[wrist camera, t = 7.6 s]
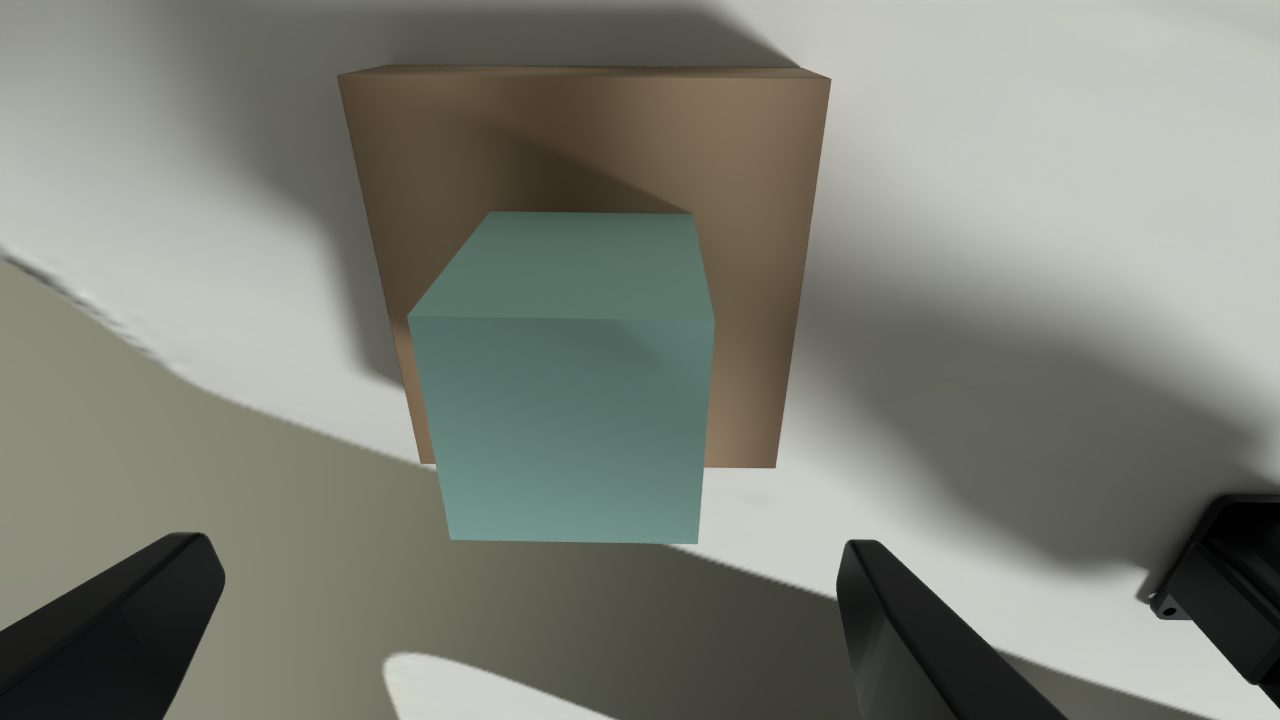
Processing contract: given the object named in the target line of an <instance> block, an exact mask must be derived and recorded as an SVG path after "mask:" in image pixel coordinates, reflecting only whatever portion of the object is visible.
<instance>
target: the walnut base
mask: <svg viewBox="0 0 1280 720" xmlns="http://www.w3.org/2000/svg"><path fill="white" fill-rule="evenodd" d="M337 77H338V82H339V86H340V91H341V96H342V100H343V105H344V110H345V114H346V119H347V124H348V128H349V133H350V137H351V142H352V147H353V151H354V156H355V161H356V165H357V170H358V175H359V179H360V184H361V188H362V193H363V198H364V202H365V207H366V212H367V216H368V221H369V226H370V230H371V235H372V239H373V244H374V249H375V253H376V258H377V263H378V267H379V272H380V277H381V281H382V286H383V291H384V295H385V300H386V304H387V309H388V314H389V318H390V323H391V328H392V332H393V337H394V342H395V346H396V351H397V355H398V360H399V365H400V369H401V374H402V379H403V383H404V388H405V393H406V397H407V402H408V407H409V411H410V416H411V420H412V425H413V430H414V434H415V439H416V444H417V448H418V453H419V458H420V462H421V464H436V463H435V457H434V452H433V447H432V442H431V437H430V432H429V426H428V421H427V416H426V411H425V406H424V401H423V396H422V390H421V385H420V380H419V375H418V370H417V365H416V360H415V354H414V349H413V344H412V339H411V334H410V329H409V324H408V318H407V315H408V314H409V313H410V312H411V310H412V309H413V308H414V307H415V305H416V304H417V303H418V302H419V300H420V299H421V298H422V297H423V295H424V294H425V293H426V292H427V290H428V289H429V288H430V286H431V285H432V284H433V283H434V281H435V280H436V279H437V278H438V276H439V275H440V274H441V273H442V271H443V270H444V269H445V268H446V266H447V265H448V264H449V263H450V261H451V260H452V259H453V257H454V256H455V255H456V254H457V252H458V251H459V250H460V249H461V247H462V246H463V245H464V244H465V242H466V241H467V240H468V239H469V237H470V236H471V235H472V234H473V232H474V231H475V230H476V228H477V227H478V226H479V225H480V223H481V222H482V221H483V220H484V218H485V217H486V216H487V215H488V213H489V212H490V211H507V212H579V213H650V214H693V218H694V222H695V227H696V232H697V237H698V242H699V246H700V251H701V256H702V261H703V266H704V270H705V275H706V280H707V285H708V290H709V295H710V299H711V304H712V309H713V314H714V319H715V327H714V339H713V352H712V365H711V378H710V391H709V404H708V417H707V430H706V443H705V456H704V467H712V468H775V467H776V460H777V453H778V446H779V439H780V432H781V426H782V419H783V412H784V405H785V398H786V391H787V384H788V377H789V370H790V363H791V356H792V349H793V342H794V335H795V328H796V322H797V315H798V308H799V301H800V294H801V287H802V280H803V273H804V266H805V259H806V252H807V245H808V238H809V231H810V224H811V218H812V211H813V204H814V197H815V190H816V183H817V176H818V169H819V162H820V155H821V148H822V141H823V134H824V127H825V120H826V114H827V107H828V100H829V93H830V86H831V79H830V78H827V77H825V76H822V75H819V74H817V73H814V72H812V71H809V70H806V69H804V68H736V67H588V66H441V65H385V66H380V67H376V68H371V69H366V70H362V71H357V72H352V73H347V74H343V75H338V76H337Z"/></svg>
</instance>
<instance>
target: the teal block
mask: <svg viewBox="0 0 1280 720" xmlns="http://www.w3.org/2000/svg"><path fill="white" fill-rule="evenodd" d="M407 318H408V324H409V329H410V334H411V339H412V344H413V349H414V354H415V360H416V365H417V370H418V375H419V380H420V385H421V390H422V396H423V401H424V406H425V411H426V416H427V421H428V426H429V432H430V437H431V442H432V447H433V452H434V457H435V463H436V468H437V473H438V478H439V482H440V487H441V493H442V499H443V504H444V509H445V514H446V519H447V524H448V529H449V535H450V539H451V540H500V541H502V540H504V541H556V542H611V543H613V542H614V543H666V544H698V533H699V520H700V507H701V495H702V482H703V469H704V456H705V443H706V430H707V417H708V404H709V391H710V378H711V365H712V352H713V339H714V327H715V319H714V314H713V309H712V304H711V299H710V295H709V290H708V285H707V280H706V275H705V270H704V266H703V261H702V256H701V251H700V246H699V242H698V237H697V232H696V227H695V222H694V218H693V214H650V213H579V212H507V211H490V212H489V213H488V215H487V216H486V217H485V218H484V220H483V221H482V222H481V223H480V225H479V226H478V227H477V228H476V230H475V231H474V232H473V234H472V235H471V236H470V237H469V239H468V240H467V241H466V242H465V244H464V245H463V246H462V247H461V249H460V250H459V251H458V252H457V254H456V255H455V256H454V257H453V259H452V260H451V261H450V263H449V264H448V265H447V266H446V268H445V269H444V270H443V271H442V273H441V274H440V275H439V276H438V278H437V279H436V280H435V281H434V283H433V284H432V285H431V286H430V288H429V289H428V290H427V292H426V293H425V294H424V295H423V297H422V298H421V299H420V300H419V302H418V303H417V304H416V305H415V307H414V308H413V309H412V310H411V312H410V313H409V314H408V315H407Z"/></svg>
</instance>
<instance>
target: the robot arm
mask: <svg viewBox="0 0 1280 720" xmlns="http://www.w3.org/2000/svg"><path fill="white" fill-rule="evenodd" d="M224 585H225V572H224V569H223V567H222V565H221V563H220V560H219V558H218V556H217V554H216V552H215V550H214V547H213V545H212V543H211V541H210V539H209V538H208V536H206V535H205V534H204V533H200V532H175V533H170V534H168V535H166V536H164V537H162V538H160V539H159V540H157V541H155V542H154V543H152V544H150V545H149V546H147V547H145V548H143V549H142V550H140V551H138V552H136V553H135V554H133V555H131V556H130V557H128V558H126V559H124V560H123V561H121V562H119V563H117V564H116V565H114V566H112V567H111V568H109V569H107V570H105V571H104V572H102V573H100V574H98V575H97V576H95V577H93V578H91V579H90V580H88V581H86V582H85V583H83V584H81V585H80V586H78V587H76V588H74V589H73V590H71V591H69V592H67V593H66V594H64V595H62V596H60V597H59V598H57V599H55V600H54V601H52V602H50V603H48V604H47V605H45V606H43V607H42V608H40V609H38V610H36V611H35V612H33V613H31V614H29V615H28V616H26V617H24V618H22V619H21V620H19V621H17V622H16V623H14V624H12V625H11V626H9V627H7V628H5V629H4V630H2V631H0V720H163V718H164V716H165V715H166V713H167V711H168V709H169V707H170V705H171V703H172V701H173V700H174V698H175V696H176V693H177V691H178V689H179V687H180V685H181V683H182V681H183V679H184V677H185V675H186V672H187V670H188V668H189V666H190V663H191V661H192V659H193V657H194V654H195V652H196V650H197V647H198V645H199V643H200V641H201V639H202V636H203V634H204V632H205V630H206V628H207V625H208V623H209V621H210V619H211V616H212V614H213V612H214V610H215V607H216V605H217V603H218V601H219V598H220V596H221V594H222V592H223V589H224ZM836 591H837V599H838V604H839V609H840V614H841V619H842V624H843V629H844V634H845V639H846V645H847V650H848V655H849V660H850V665H851V670H852V675H853V680H854V686H855V690H856V695H857V700H858V704H859V708H860V712H861V715H862V719H863V720H1069V719H1068V718H1067V717H1066V716H1065V715H1064V714H1063V713H1062V712H1061V711H1060V710H1059V709H1057V708H1056V707H1055V706H1054V705H1053V704H1052V703H1051V702H1050V701H1049V700H1048V699H1047V698H1046V697H1045V696H1044V695H1043V694H1041V693H1040V692H1039V691H1038V690H1037V689H1036V688H1035V687H1034V686H1033V685H1032V684H1031V683H1030V682H1029V681H1028V680H1027V679H1026V678H1024V677H1023V676H1022V675H1021V674H1020V673H1019V672H1018V671H1017V670H1016V669H1015V668H1014V667H1013V666H1012V665H1011V664H1009V663H1008V662H1007V661H1006V660H1005V659H1004V658H1003V657H1002V656H1001V655H1000V654H999V653H998V652H997V651H996V650H995V649H994V648H992V647H991V646H990V645H989V644H988V643H987V642H986V641H985V640H984V639H983V638H982V637H981V636H980V635H979V634H978V633H976V632H975V631H974V630H973V629H972V628H971V627H970V626H969V625H968V624H967V623H966V622H965V621H964V620H963V619H962V618H960V617H959V616H958V615H957V614H956V613H955V612H954V611H953V610H952V609H951V608H950V607H949V606H948V605H947V604H946V603H944V602H943V601H942V600H941V599H940V598H939V597H938V596H937V595H936V594H935V593H934V592H933V591H932V590H931V589H930V588H928V587H927V586H926V585H925V584H924V583H923V582H922V581H921V580H920V579H919V578H918V577H917V576H916V575H915V574H914V573H912V572H911V571H910V570H909V569H908V568H907V567H906V566H905V565H904V564H903V563H902V562H901V561H900V560H899V559H898V558H896V557H895V556H894V555H893V554H892V553H891V552H890V551H889V550H888V549H887V548H886V547H885V546H884V545H883V544H881V543H880V542H878V541H876V540H860V539H852V540H849V541H847V543H846V544H845V547H844V551H843V555H842V559H841V563H840V568H839V572H838V576H837V582H836ZM1150 608H1151V610H1152V611H1153V612H1154V614H1155V615H1156V616H1157V617H1158V618H1159V619H1163V620H1193V621H1194V623H1195V624H1196V625H1197V626H1198V627H1199V628H1200V629H1201V630H1202V632H1203V633H1204V634H1205V635H1206V636H1207V637H1208V638H1209V639H1210V641H1211V642H1212V643H1213V644H1214V645H1215V646H1216V647H1217V649H1218V650H1219V651H1220V652H1221V653H1222V654H1223V655H1224V656H1225V658H1226V659H1227V660H1228V661H1229V662H1230V663H1231V664H1232V665H1233V667H1234V668H1235V669H1236V670H1237V671H1238V672H1239V673H1240V674H1241V676H1242V677H1243V678H1244V679H1245V680H1246V681H1247V682H1248V683H1250V684H1252V685H1258V686H1259V687H1260V688H1261V689H1262V690H1263V691H1264V692H1265V694H1266V695H1267V696H1268V697H1269V698H1270V699H1271V700H1272V701H1273V702H1274V704H1275V705H1276V706H1277V707H1278V708H1279V709H1280V495H1225V496H1222V497H1219V498H1218V499H1216V500H1215V501H1214V502H1213V503H1212V504H1211V506H1210V507H1209V509H1208V510H1207V512H1206V514H1205V515H1204V517H1203V519H1202V520H1201V522H1200V524H1199V525H1198V527H1197V529H1196V530H1195V532H1194V533H1193V535H1192V537H1191V538H1190V540H1189V542H1188V543H1187V545H1186V547H1185V548H1184V550H1183V551H1182V553H1181V555H1180V556H1179V558H1178V560H1177V561H1176V563H1175V565H1174V566H1173V568H1172V569H1171V571H1170V573H1169V574H1168V576H1167V578H1166V579H1165V581H1164V583H1163V584H1162V586H1161V587H1160V589H1159V591H1158V592H1157V594H1156V596H1155V597H1154V599H1153V601H1152V602H1151V604H1150Z"/></svg>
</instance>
